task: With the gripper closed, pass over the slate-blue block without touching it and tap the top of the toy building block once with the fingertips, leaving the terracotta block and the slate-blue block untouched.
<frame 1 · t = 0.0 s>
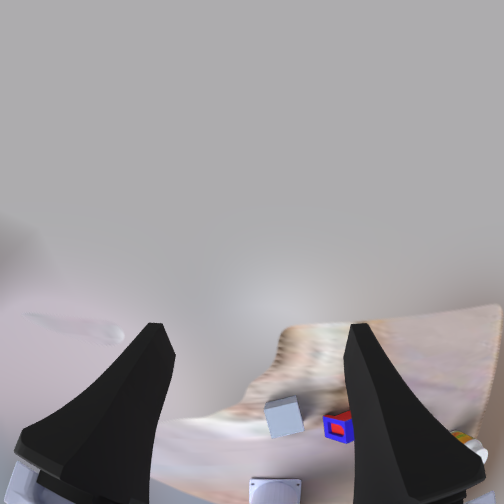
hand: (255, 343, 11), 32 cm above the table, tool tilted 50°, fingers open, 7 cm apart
toy building block: (344, 421, 37), on the table
slate blue block: (284, 412, 39), on the table
supplement bottle: (449, 443, 33), on the table
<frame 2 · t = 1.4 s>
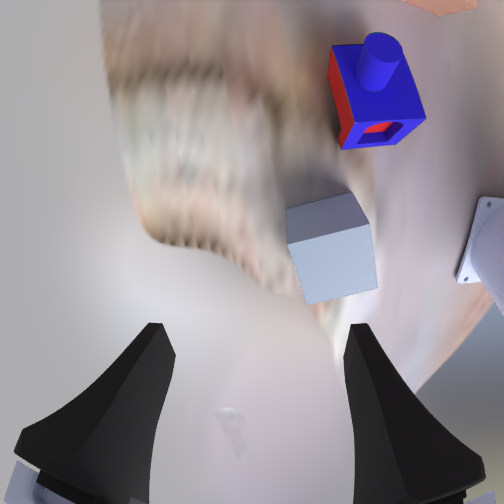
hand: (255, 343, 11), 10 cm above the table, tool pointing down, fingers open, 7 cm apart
toy building block: (359, 95, 15), on the table
slate blue block: (326, 229, 20), on the table
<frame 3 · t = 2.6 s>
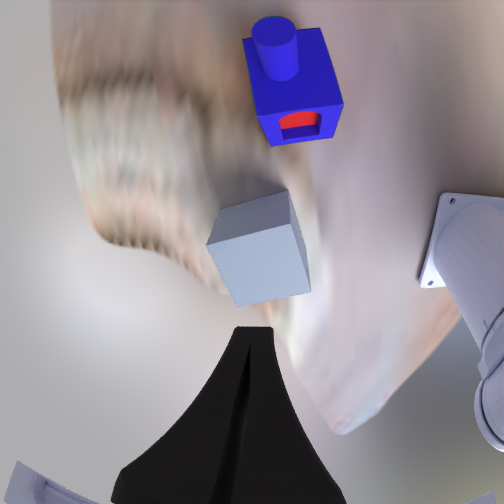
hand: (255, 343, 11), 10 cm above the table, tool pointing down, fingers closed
toy building block: (291, 88, 15), on the table
slate blue block: (264, 229, 20), on the table
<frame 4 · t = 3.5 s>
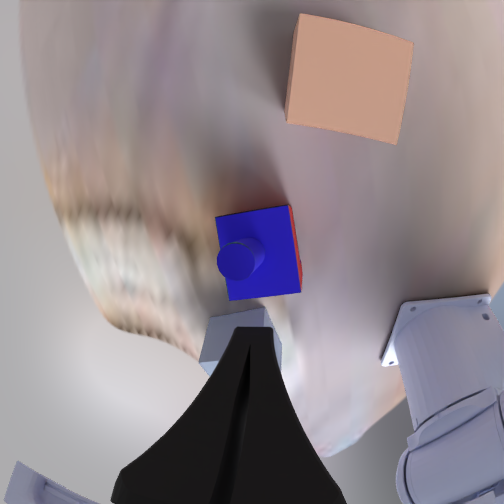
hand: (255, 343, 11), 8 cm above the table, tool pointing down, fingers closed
terracotta block: (332, 78, 13), on the table
toy building block: (266, 230, 18), on the table
slate blue block: (247, 330, 23), on the table
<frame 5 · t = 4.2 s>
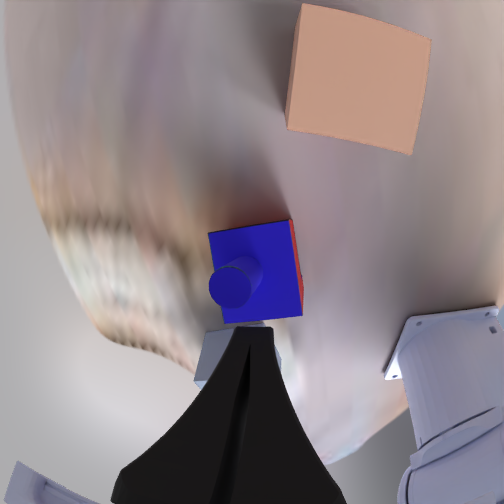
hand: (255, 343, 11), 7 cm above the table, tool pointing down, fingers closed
terracotta block: (338, 78, 11), on the table
toy building block: (264, 244, 17), on the table
slate blue block: (245, 345, 22), on the table
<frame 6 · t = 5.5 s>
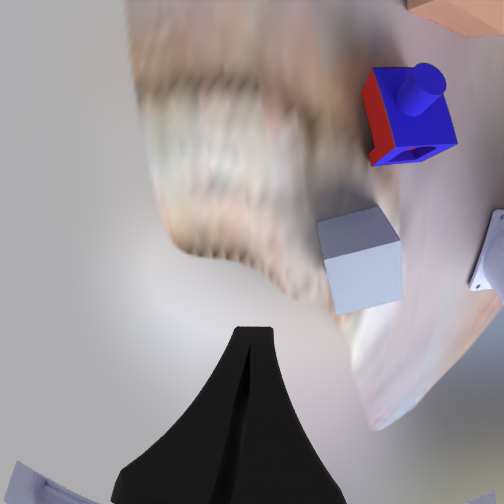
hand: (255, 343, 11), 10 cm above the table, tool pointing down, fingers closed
toy building block: (390, 113, 15), on the table
slate blue block: (353, 241, 20), on the table
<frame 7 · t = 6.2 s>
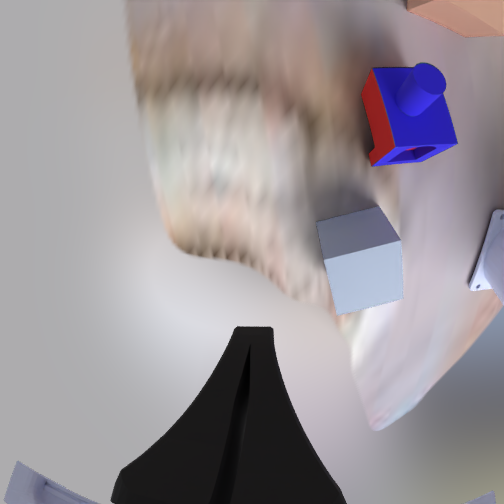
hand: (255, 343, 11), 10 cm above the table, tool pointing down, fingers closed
toy building block: (390, 113, 15), on the table
slate blue block: (353, 241, 20), on the table
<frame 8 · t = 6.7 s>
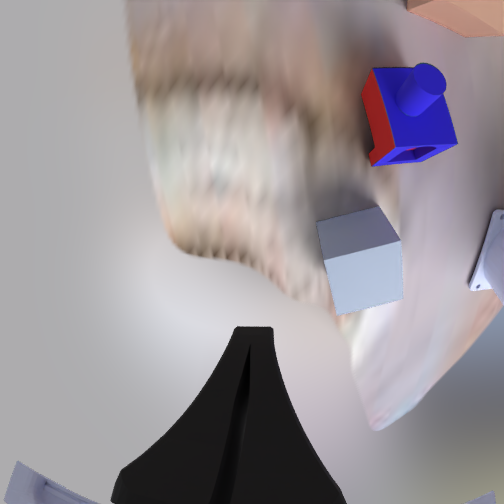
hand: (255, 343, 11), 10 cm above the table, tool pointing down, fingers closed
toy building block: (390, 113, 15), on the table
slate blue block: (353, 241, 20), on the table
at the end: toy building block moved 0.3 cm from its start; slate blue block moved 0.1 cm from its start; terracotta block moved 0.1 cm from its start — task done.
